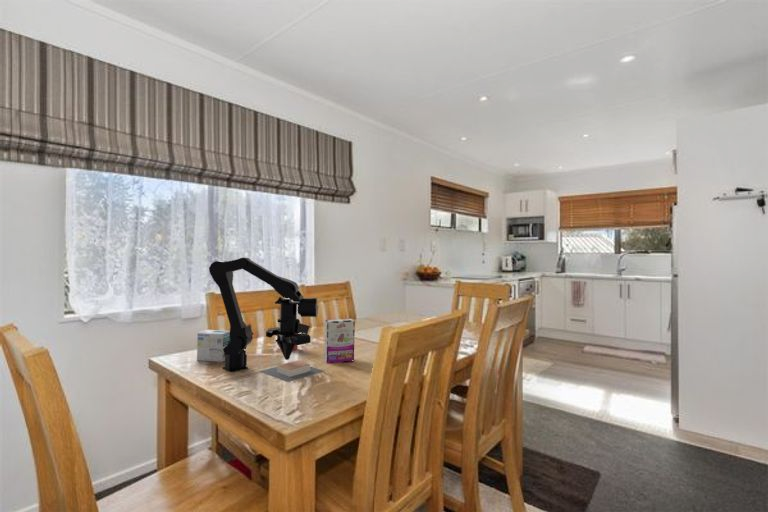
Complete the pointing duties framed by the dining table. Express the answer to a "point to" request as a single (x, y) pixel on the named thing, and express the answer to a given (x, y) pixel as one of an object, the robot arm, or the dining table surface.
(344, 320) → the candy bar box
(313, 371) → the mat
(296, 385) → the dining table surface
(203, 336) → the light bulb box
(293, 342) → the robot arm
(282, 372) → the deck
